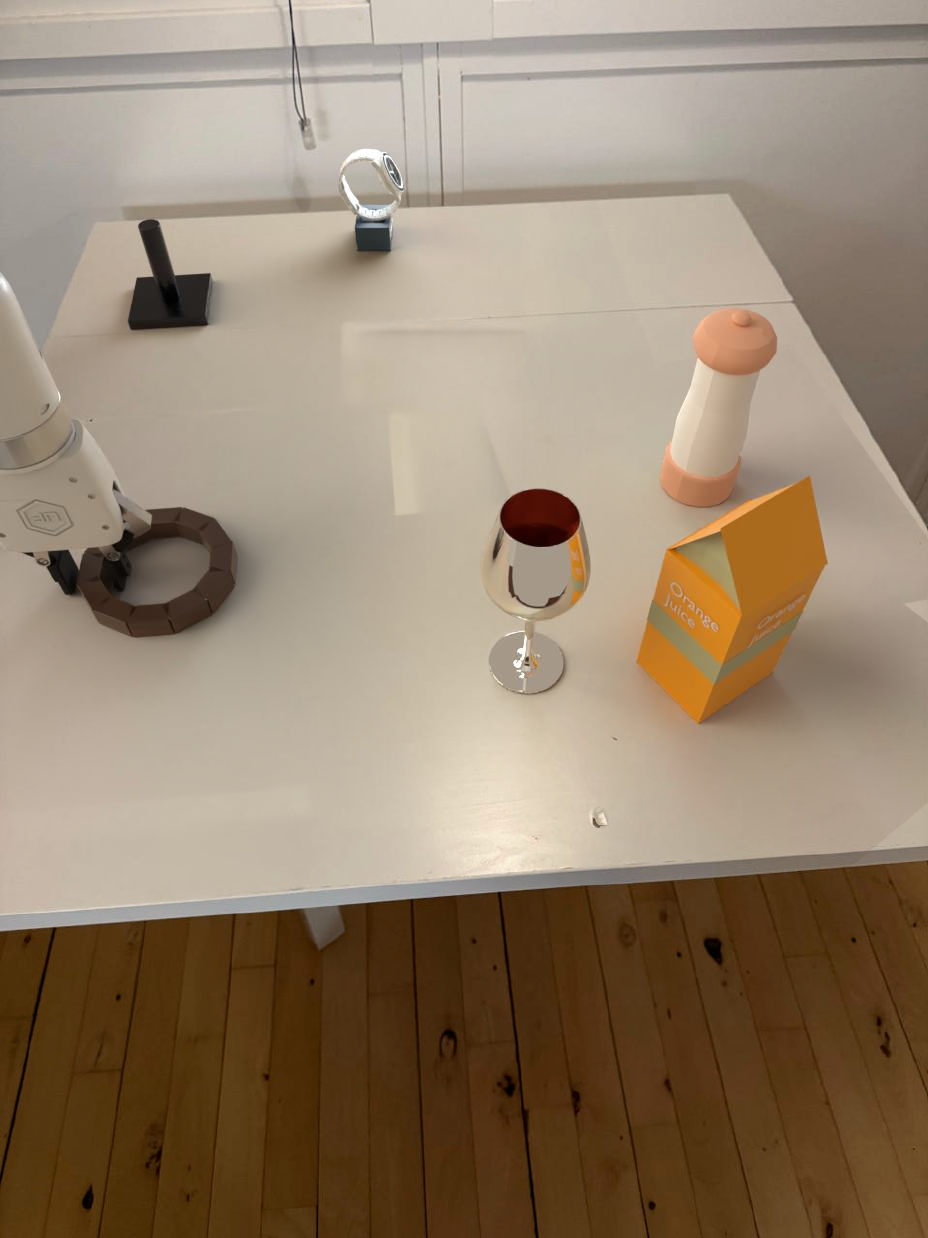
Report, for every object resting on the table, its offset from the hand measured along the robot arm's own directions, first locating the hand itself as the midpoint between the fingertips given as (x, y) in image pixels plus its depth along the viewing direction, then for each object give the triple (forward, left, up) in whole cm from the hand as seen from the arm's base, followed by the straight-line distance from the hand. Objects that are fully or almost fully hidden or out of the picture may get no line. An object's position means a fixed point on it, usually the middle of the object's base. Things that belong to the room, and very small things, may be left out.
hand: (96, 579), depth 82 cm
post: (+3, +43, 0) cm, 43 cm away
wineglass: (+38, -13, 0) cm, 40 cm away
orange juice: (+53, -15, 0) cm, 55 cm away
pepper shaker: (+58, +7, 0) cm, 58 cm away
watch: (+28, +55, 0) cm, 62 cm away
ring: (+6, 0, 0) cm, 6 cm away
